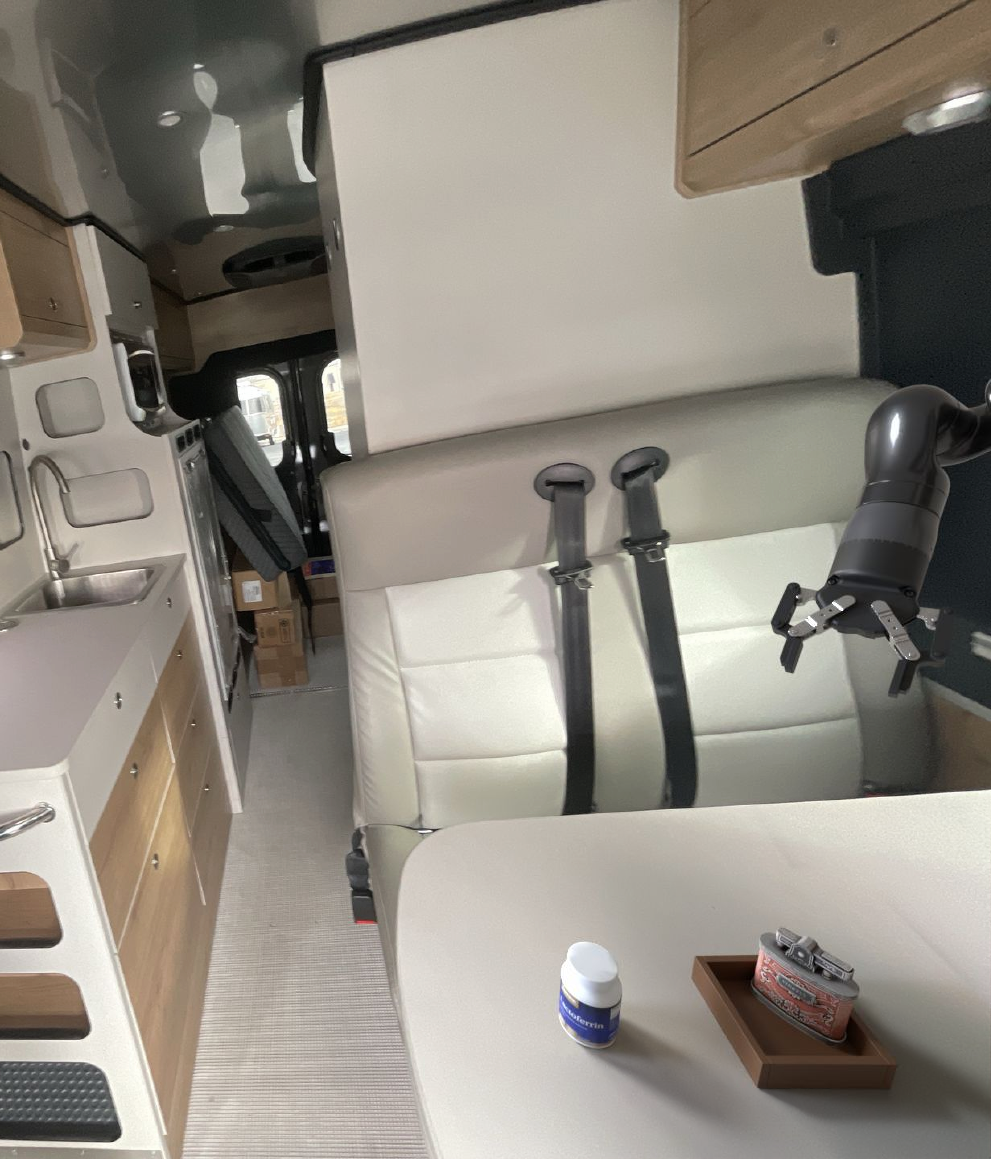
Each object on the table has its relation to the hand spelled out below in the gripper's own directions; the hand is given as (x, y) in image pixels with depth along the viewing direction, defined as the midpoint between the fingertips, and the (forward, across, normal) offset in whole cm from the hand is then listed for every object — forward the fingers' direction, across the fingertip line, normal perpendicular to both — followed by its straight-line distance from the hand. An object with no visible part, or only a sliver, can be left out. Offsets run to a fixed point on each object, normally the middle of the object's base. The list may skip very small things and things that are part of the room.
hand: (838, 682), depth 73 cm
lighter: (+34, +4, +8) cm, 36 cm away
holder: (+36, +4, +7) cm, 37 cm away
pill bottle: (+46, -10, -2) cm, 47 cm away
